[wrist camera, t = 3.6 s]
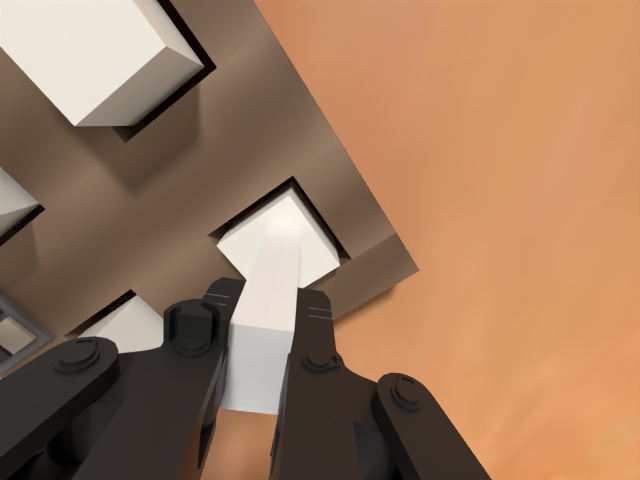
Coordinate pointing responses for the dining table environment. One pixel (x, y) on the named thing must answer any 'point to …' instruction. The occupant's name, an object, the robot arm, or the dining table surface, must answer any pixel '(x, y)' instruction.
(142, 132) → the board
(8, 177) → the button
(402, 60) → the dining table surface
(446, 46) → the dining table surface
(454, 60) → the dining table surface
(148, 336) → the button
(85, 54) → the button
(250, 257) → the button
